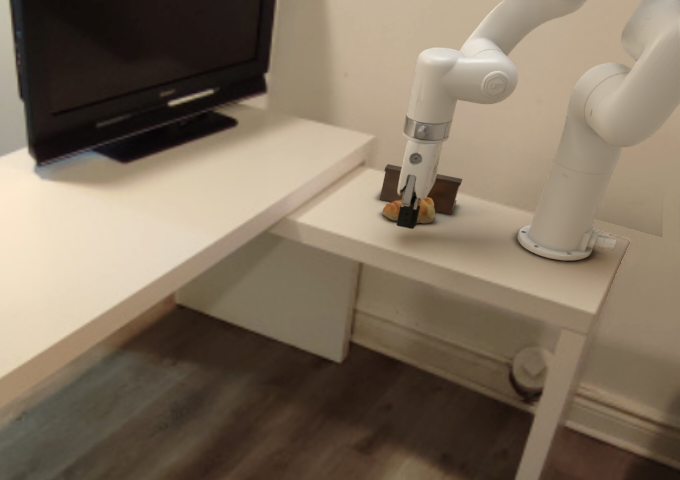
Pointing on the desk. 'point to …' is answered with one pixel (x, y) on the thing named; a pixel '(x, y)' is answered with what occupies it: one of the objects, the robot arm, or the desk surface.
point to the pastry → (424, 214)
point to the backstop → (440, 192)
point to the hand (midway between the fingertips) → (406, 225)
